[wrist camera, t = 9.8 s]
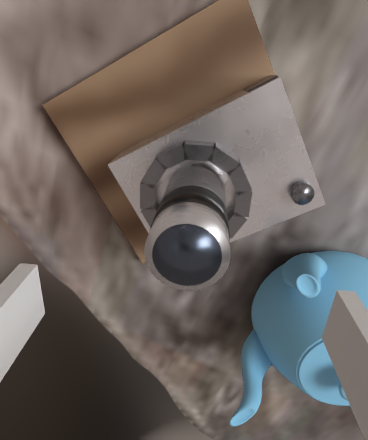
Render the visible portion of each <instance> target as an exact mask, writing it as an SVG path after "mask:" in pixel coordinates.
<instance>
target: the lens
mask: <svg viewBox="0 0 368 440" xmlns="http://www.w3.org/2000/svg"><path fill="white" fill-rule="evenodd" d="M144 256H145V261H146V264H147V266H148V268H149V270H150V271H151V273H152V274H153V275H154V276H155V277H156V278H157V279H158V280H159V281H160V282H162V283H164V284H165V285H167V286H169V287H172V288H175V289H178V290H184V291H193V290H200V289H204V288H206V287H209V286H211V285H213V284H214V283H216V282H217V281H218V280H219V279H220V278H221V277H222V276H223V275H224V274H225V272H226V270H227V269H228V266H229V263H230V257H231V252H230V234H229V224H228V214H227V210H226V201H225V191H224V186H223V184H222V182H221V180H220V179H219V177H218V176H217V175H216V174H214V173H213V172H212V171H210V170H208V169H206V168H202V167H188V168H185V169H182V170H180V171H179V172H177V173H176V174H175V175H174V176H173V177H172V178H171V180H170V181H169V183H168V186H167V188H166V191H165V193H164V196H163V199H162V201H161V203H160V204H159V207H158V209H157V212H156V214H155V217H154V220H153V222H152V225H151V228H150V232H149V234H148V237H147V240H146V242H145V247H144Z"/></svg>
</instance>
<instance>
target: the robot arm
mask: <svg viewBox="0 0 368 440" xmlns="http://www.w3.org/2000/svg"><path fill="white" fill-rule="evenodd" d="M44 314H45V310H44V304H43V298H42V292H41V286H40V280H39V273H38V267H37V265H33V264H19V265H18V266H17V267H16V268H15V269H14V271H13V272H12V273H11V274H10V275H9V276H8V277H7V278H6V279H5V280H4V281H3V282H2V283H1V285H0V382H1V380H2V379H3V377H4V375H5V374H6V372H7V371H8V369H9V368H10V366H11V365H12V363H13V362H14V360H15V359H16V357H17V355H18V354H19V352H20V351H21V349H22V348H23V346H24V345H25V343H26V342H27V340H28V339H29V337H30V335H31V334H32V332H33V331H34V329H35V328H36V326H37V325H38V323H39V322H40V320H41V318H42V317H43V316H44ZM322 340H323V342H324V345H325V347H326V349H327V352H328V354H329V356H330V359H331V361H332V364H333V366H334V368H335V371H336V373H337V376H338V378H339V380H340V383H341V385H342V387H343V390H344V392H345V395H346V397H347V399H348V402H349V404H350V406H351V409H352V411H353V414H354V416H355V418H356V421H357V423H358V426H359V428H360V430H361V433H362V435H363V437H364V440H368V311H367V309H366V308H365V306H364V305H363V303H362V302H361V300H360V299H359V297H358V295H357V294H356V292H355V291H344V290H337V291H336V294H335V297H334V300H333V303H332V307H331V310H330V313H329V316H328V319H327V322H326V326H325V329H324V332H323V335H322Z"/></svg>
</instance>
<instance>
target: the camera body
mask: <svg viewBox="0 0 368 440" xmlns="http://www.w3.org/2000/svg"><path fill="white" fill-rule="evenodd" d="M108 166H109V168H110V170H111V171H112V173H113V175H114V176H115V178H116V180H117V181H118V183H119V185H120V186H121V188H122V190H123V191H124V193H125V195H126V196H127V198H128V200H129V201H130V203H131V205H132V206H133V208H134V210H135V211H136V213H137V215H138V216H139V218H140V220H141V221H142V223H143V225H144V227H145V228H146V230H147V232H148V233H149V232H150V228H151V225H152V222H153V220H154V217H155V214H156V212H157V209H158V207H159V204H160V203H161V201H162V199H163V196H164V193H165V191H166V188H167V186H168V183H169V181H170V180H171V178H172V177H173V176H174V175H175V174H176V173H177V172H179V171H180V170H182V169H185V168H188V167H202V168H206V169H208V170H210V171H212V172H213V173H214V174H216V175H217V176H218V177H219V179H220V180H221V182H222V184H223V186H224V191H225V201H226V210H227V214H228V224H229V234H230V242H233V241H235V240H238V239H240V238H243V237H245V236H248V235H250V234H253V233H255V232H258V231H260V230H263V229H265V228H268V227H270V226H273V225H275V224H278V223H280V222H283V221H285V220H288V219H290V218H293V217H295V216H298V215H301V214H303V213H306V212H308V211H311V210H313V209H316V208H318V207H321V206H323V205H326V204H325V201H324V198H323V196H322V193H321V190H320V187H319V184H318V182H317V179H316V176H315V173H314V170H313V168H312V165H311V162H310V159H309V156H308V154H307V151H306V148H305V145H304V142H303V140H302V137H301V134H300V131H299V128H298V126H297V123H296V120H295V117H294V114H293V112H292V109H291V106H290V103H289V100H288V98H287V95H286V92H285V89H284V86H283V84H282V81H281V78H280V77H278V76H277V75H269V76H267V77H265V78H263V79H261V80H259V81H257V82H255V83H253V84H251V85H249V86H247V87H245V88H244V89H242V90H240V91H238V92H236V93H234V94H232V95H230V96H228V97H227V98H225V99H223V100H221V101H219V102H217V103H215V104H213V105H211V106H209V107H207V108H205V109H203V110H201V111H199V112H197V113H195V114H193V115H191V116H190V117H188V118H186V119H184V120H182V121H180V122H178V123H176V124H174V125H172V126H170V127H168V128H166V129H164V130H162V131H160V132H158V133H156V134H154V135H153V136H151V137H149V138H147V139H145V140H143V141H141V142H139V143H137V144H135V145H133V146H131V147H129V148H127V149H125V150H123V151H122V152H121V153H119V154H118V155H117V156H116V157H115V158H114V159H113V160H112V161H111V162H110V163H109V164H108Z"/></svg>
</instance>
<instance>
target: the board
mask: <svg viewBox="0 0 368 440" xmlns="http://www.w3.org/2000/svg"><path fill="white" fill-rule="evenodd" d="M269 75H275V74H274V71H273V68H272V66H271V63H270V60H269V57H268V55H267V52H266V49H265V46H264V43H263V41H262V38H261V35H260V32H259V30H258V27H257V24H256V21H255V19H254V16H253V13H252V10H251V8H250V5H249V2H248V0H218V1H217V2H215V3H213V4H212V5H210V6H208V7H206V8H205V9H203V10H201V11H200V12H198V13H196V14H195V15H193V16H191V17H190V18H188V19H186V20H185V21H183V22H181V23H180V24H178V25H176V26H174V27H173V28H171V29H169V30H168V31H166V32H164V33H163V34H161V35H159V36H158V37H156V38H154V39H153V40H151V41H149V42H148V43H146V44H144V45H143V46H141V47H139V48H137V49H136V50H134V51H132V52H131V53H129V54H127V55H126V56H124V57H122V58H121V59H119V60H117V61H116V62H114V63H112V64H111V65H109V66H107V67H105V68H104V69H102V70H100V71H99V72H97V73H95V74H94V75H92V76H90V77H89V78H87V79H85V80H84V81H82V82H80V83H79V84H77V85H75V86H74V87H72V88H70V89H68V90H67V91H65V92H63V93H62V94H60V95H58V96H57V97H55V98H53V99H52V100H50V101H48V102H47V103H45V104H43V107H44V108H45V110H46V111H47V113H48V115H49V116H50V118H51V119H52V121H53V123H54V124H55V126H56V127H57V129H58V130H59V132H60V134H61V135H62V137H63V138H64V140H65V142H66V143H67V145H68V146H69V148H70V149H71V151H72V153H73V154H74V156H75V157H76V159H77V161H78V162H79V164H80V165H81V167H82V168H83V170H84V172H85V173H86V175H87V176H88V178H89V180H90V181H91V183H92V184H93V186H94V187H95V189H96V191H97V192H98V194H99V195H100V197H101V199H102V200H103V202H104V203H105V205H106V206H107V208H108V210H109V211H110V213H111V214H112V216H113V218H114V219H115V221H116V222H117V224H118V225H119V227H120V229H121V230H122V232H123V233H124V235H125V237H126V238H127V240H128V241H129V243H130V244H131V246H132V248H133V249H134V251H135V252H136V254H137V256H138V257H139V259H140V260H141V262H142V263H145V262H146V261H145V256H144V247H145V242H146V240H147V237H148V234H149V233H148V232H147V230H146V228H145V227H144V225H143V223H142V221H141V220H140V218H139V216H138V215H137V213H136V211H135V210H134V208H133V206H132V205H131V203H130V201H129V200H128V198H127V196H126V195H125V193H124V191H123V190H122V188H121V186H120V185H119V183H118V181H117V180H116V178H115V176H114V175H113V173H112V171H111V170H110V168H109V166H108V164H109V163H110V162H111V161H112V160H113V159H114V158H115V157H116V156H117V155H118V154H119V153H121V152H122V151H123V150H125V149H127V148H129V147H131V146H133V145H135V144H137V143H139V142H141V141H143V140H145V139H147V138H149V137H151V136H153V135H154V134H156V133H158V132H160V131H162V130H164V129H166V128H168V127H170V126H172V125H174V124H176V123H178V122H180V121H182V120H184V119H186V118H188V117H190V116H191V115H193V114H195V113H197V112H199V111H201V110H203V109H205V108H207V107H209V106H211V105H213V104H215V103H217V102H219V101H221V100H223V99H225V98H227V97H228V96H230V95H232V94H234V93H236V92H238V91H240V90H242V89H244V88H245V87H247V86H249V85H251V84H253V83H255V82H257V81H259V80H261V79H263V78H265V77H267V76H269Z"/></svg>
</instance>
